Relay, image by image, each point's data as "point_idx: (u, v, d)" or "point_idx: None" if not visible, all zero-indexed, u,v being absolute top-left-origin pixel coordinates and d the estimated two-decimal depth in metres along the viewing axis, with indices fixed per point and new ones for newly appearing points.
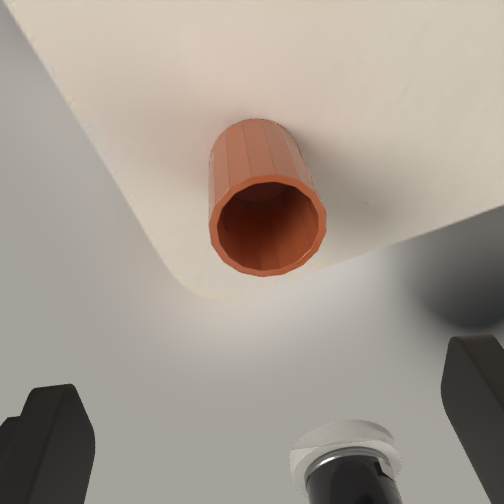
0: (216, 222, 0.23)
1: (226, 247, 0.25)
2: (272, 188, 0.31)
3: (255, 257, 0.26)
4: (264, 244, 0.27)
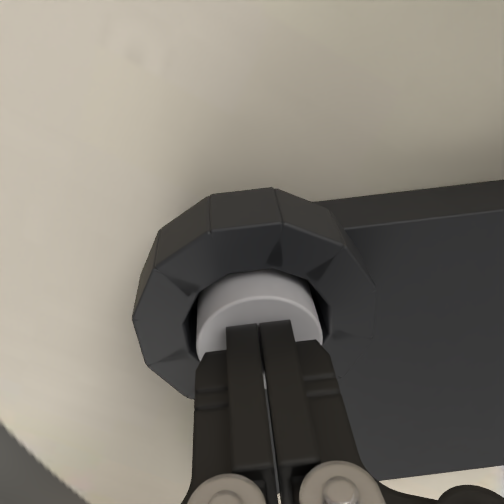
0: None
1: None
2: None
3: None
4: None
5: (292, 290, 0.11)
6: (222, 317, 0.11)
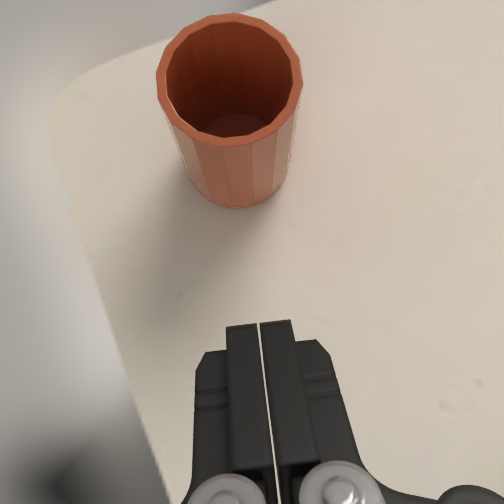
0: (240, 21, 0.19)
1: (196, 41, 0.20)
2: None
3: (173, 83, 0.20)
4: (177, 112, 0.22)
5: None
6: None
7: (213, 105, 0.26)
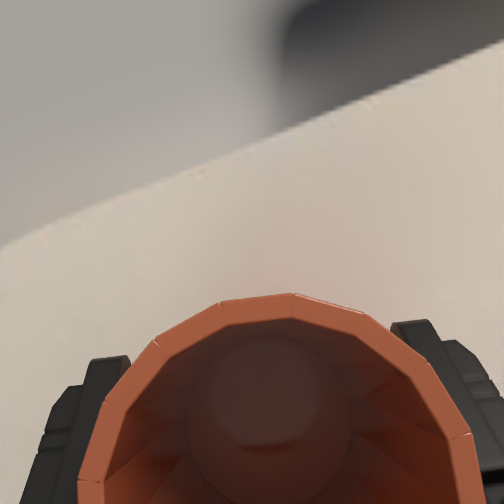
0: (304, 317, 0.07)
1: (189, 351, 0.08)
2: (218, 461, 0.14)
3: (131, 447, 0.08)
4: (147, 467, 0.09)
5: None
6: None
7: (224, 347, 0.13)
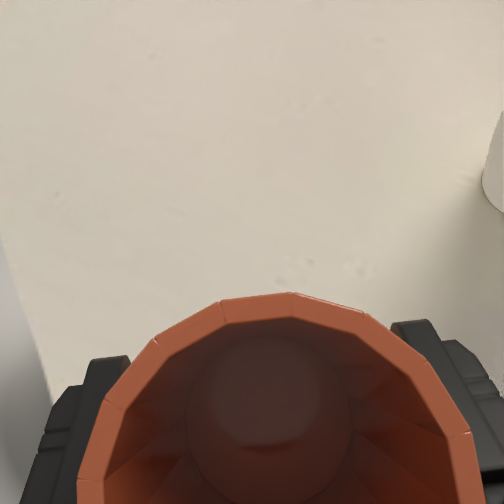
0: (304, 316, 0.07)
1: (188, 350, 0.08)
2: (217, 460, 0.14)
3: (130, 446, 0.08)
4: (146, 467, 0.09)
5: None
6: None
7: (224, 347, 0.13)
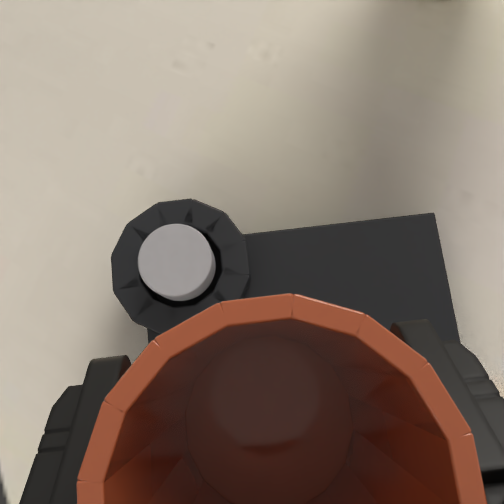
0: (304, 317, 0.07)
1: (189, 351, 0.08)
2: (218, 461, 0.14)
3: (130, 448, 0.08)
4: (146, 468, 0.09)
5: None
6: (153, 236, 0.19)
7: (224, 347, 0.13)
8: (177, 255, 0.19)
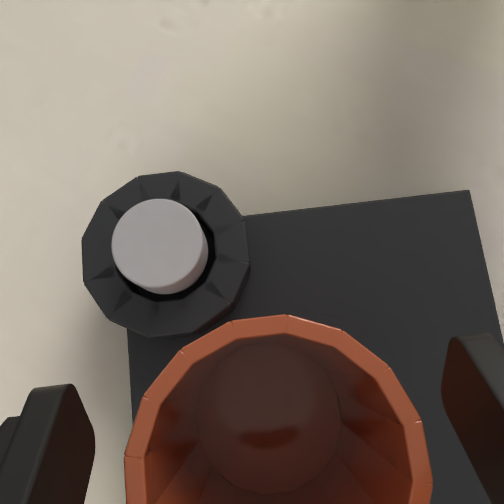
0: (295, 333, 0.10)
1: (206, 358, 0.10)
2: (225, 451, 0.17)
3: (160, 433, 0.10)
4: (169, 451, 0.12)
5: None
6: (131, 214, 0.16)
7: (230, 353, 0.16)
8: (160, 236, 0.16)
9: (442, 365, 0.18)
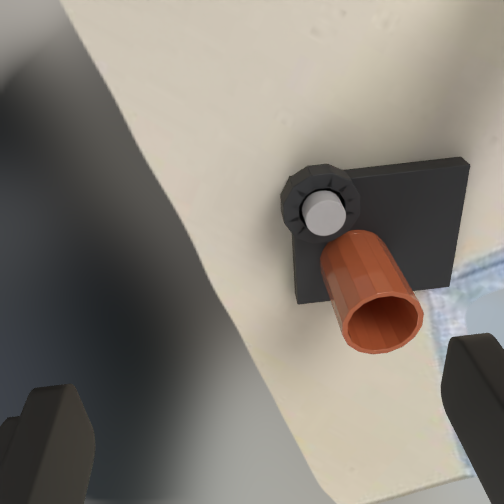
0: (395, 295, 0.33)
1: None
2: None
3: None
4: None
5: (336, 199, 0.35)
6: (315, 207, 0.34)
7: None
8: (327, 216, 0.35)
9: (429, 240, 0.41)
